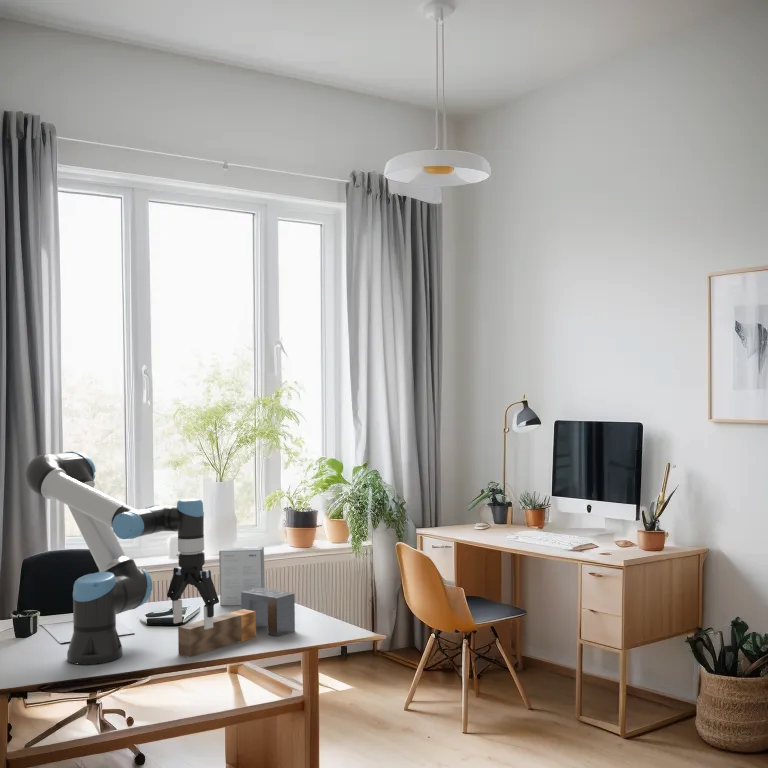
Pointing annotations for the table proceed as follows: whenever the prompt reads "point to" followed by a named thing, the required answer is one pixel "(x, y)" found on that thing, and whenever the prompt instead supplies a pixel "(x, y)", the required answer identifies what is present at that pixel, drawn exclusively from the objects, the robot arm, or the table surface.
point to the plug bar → (216, 633)
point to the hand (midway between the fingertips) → (193, 625)
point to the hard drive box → (240, 572)
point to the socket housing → (271, 609)
